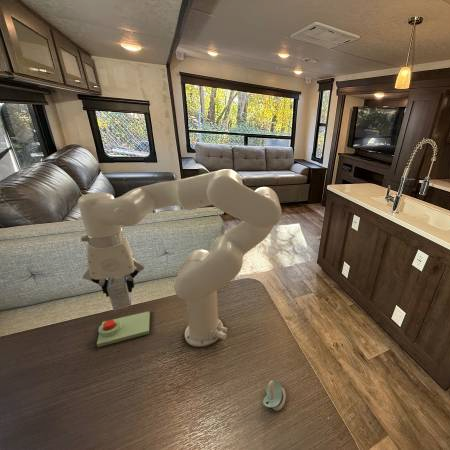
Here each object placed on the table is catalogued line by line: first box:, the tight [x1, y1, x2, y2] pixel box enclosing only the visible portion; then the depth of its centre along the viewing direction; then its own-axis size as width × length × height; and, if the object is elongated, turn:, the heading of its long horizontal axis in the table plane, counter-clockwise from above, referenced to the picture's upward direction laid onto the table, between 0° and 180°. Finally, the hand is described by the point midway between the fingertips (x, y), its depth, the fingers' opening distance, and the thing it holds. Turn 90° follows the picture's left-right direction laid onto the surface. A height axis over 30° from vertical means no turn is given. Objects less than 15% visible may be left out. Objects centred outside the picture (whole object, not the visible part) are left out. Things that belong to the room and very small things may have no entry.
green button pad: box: [96, 311, 151, 348], centre depth 84 cm, size 14×10×3 cm
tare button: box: [103, 319, 115, 331], centre depth 82 cm, size 3×3×2 cm
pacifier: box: [262, 379, 287, 411], centre depth 67 cm, size 7×6×6 cm
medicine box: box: [107, 275, 132, 312], centre depth 74 cm, size 8×4×9 cm, turn 33°
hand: (120, 291), depth 74 cm, fingers closed on medicine box, 4 cm apart
